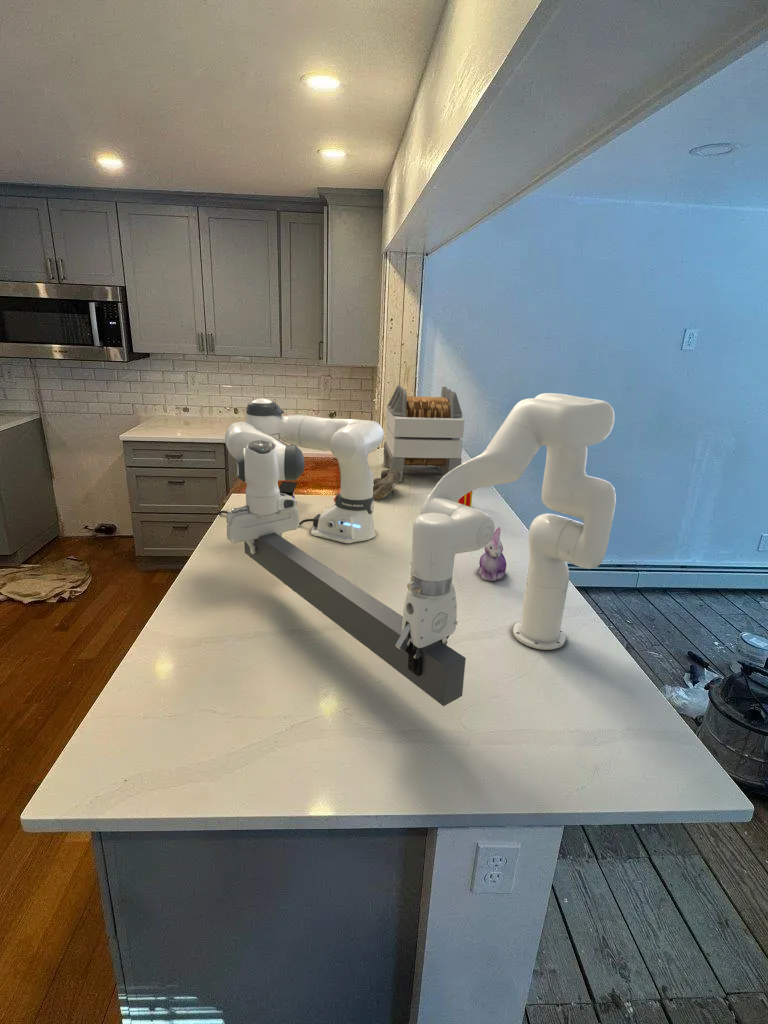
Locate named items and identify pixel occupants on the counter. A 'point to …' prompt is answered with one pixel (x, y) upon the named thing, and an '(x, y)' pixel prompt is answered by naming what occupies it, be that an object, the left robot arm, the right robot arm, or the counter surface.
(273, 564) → the bar
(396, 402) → the grey slatted crate stand
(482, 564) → the figurine
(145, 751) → the counter surface
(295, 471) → the left robot arm
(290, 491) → the figurine character
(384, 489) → the fossil
